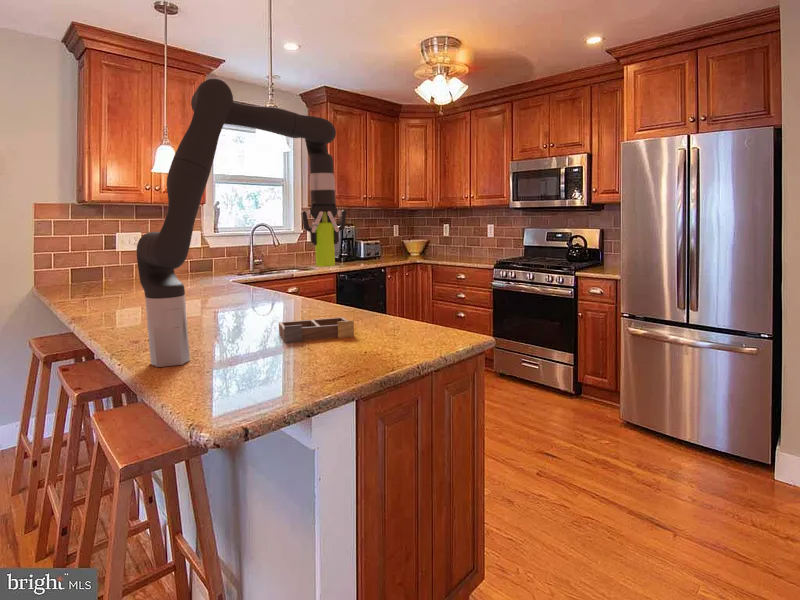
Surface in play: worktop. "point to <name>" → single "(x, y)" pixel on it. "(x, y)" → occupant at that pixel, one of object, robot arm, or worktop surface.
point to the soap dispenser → (325, 243)
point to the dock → (316, 329)
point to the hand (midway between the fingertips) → (325, 244)
